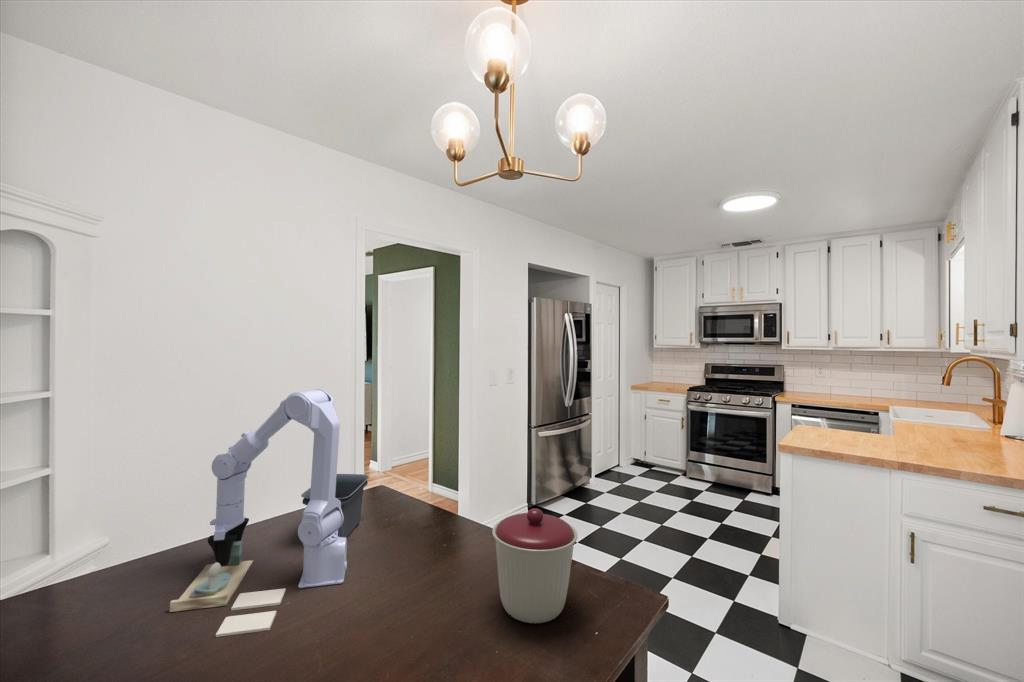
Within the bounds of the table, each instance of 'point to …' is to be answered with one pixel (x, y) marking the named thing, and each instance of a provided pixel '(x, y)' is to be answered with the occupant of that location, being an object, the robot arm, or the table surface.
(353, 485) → the storage bin
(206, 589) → the pacifier
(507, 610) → the canister
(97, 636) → the table surface
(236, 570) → the wooden board
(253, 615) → the broken strip
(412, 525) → the table surface
